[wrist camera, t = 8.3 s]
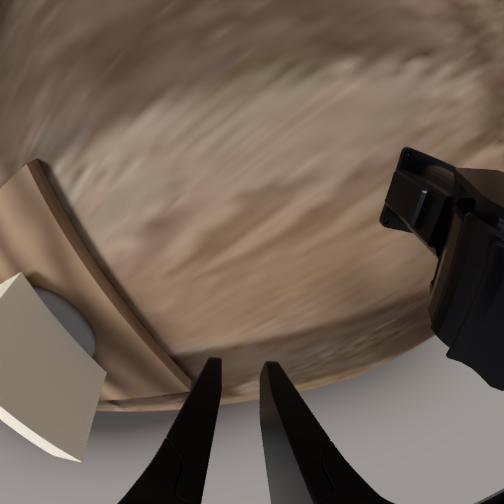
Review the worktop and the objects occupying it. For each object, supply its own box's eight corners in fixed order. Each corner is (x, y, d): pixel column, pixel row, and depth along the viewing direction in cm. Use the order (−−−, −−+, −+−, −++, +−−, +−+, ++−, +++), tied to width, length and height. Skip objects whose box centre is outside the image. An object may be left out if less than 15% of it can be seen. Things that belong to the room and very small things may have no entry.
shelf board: (37, 158, 17) (-7, 182, 12) (191, 380, 31) (187, 421, 26) (-40, 238, 19) (-67, 264, 14) (88, 393, 33) (79, 423, 29)
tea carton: (41, 257, 19) (-34, 363, 9) (125, 363, 26) (101, 465, 16) (-6, 284, 21) (-61, 365, 10) (68, 370, 28) (40, 451, 18)
